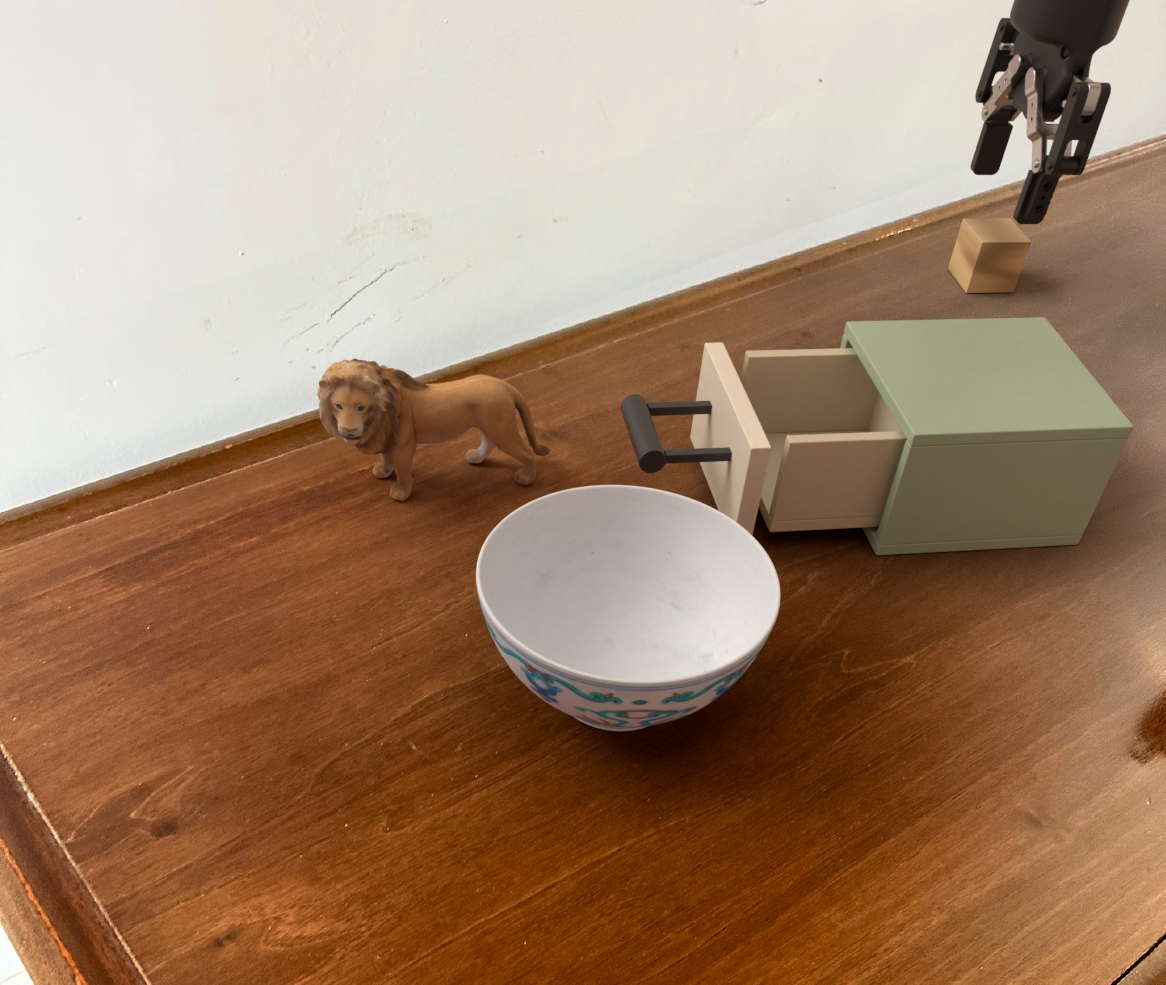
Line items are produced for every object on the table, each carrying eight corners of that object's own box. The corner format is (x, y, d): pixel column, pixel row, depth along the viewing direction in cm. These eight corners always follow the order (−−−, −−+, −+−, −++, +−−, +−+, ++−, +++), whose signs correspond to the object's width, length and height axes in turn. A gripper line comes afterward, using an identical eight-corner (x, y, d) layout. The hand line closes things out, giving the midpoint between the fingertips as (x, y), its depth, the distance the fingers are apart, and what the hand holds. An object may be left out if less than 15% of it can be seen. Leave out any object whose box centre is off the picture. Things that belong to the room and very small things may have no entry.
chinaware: (719, 826, 58) (746, 718, 53) (433, 746, 61) (429, 633, 55) (776, 633, 68) (805, 523, 62) (528, 570, 70) (533, 458, 64)
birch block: (993, 268, 100) (1010, 217, 97) (1013, 292, 98) (1031, 241, 94) (947, 268, 100) (962, 218, 96) (965, 293, 97) (982, 242, 94)
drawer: (640, 550, 71) (653, 452, 66) (606, 440, 78) (616, 344, 73) (926, 535, 74) (960, 440, 69) (868, 431, 81) (894, 337, 76)
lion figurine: (342, 528, 72) (328, 394, 65) (316, 478, 75) (300, 345, 68) (564, 479, 76) (573, 350, 70) (532, 435, 79) (537, 306, 73)
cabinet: (875, 556, 73) (914, 434, 67) (816, 439, 81) (846, 320, 75) (1078, 545, 76) (1134, 426, 69) (1001, 432, 84) (1045, 316, 77)
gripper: (994, -80, 85) (926, 158, 97) (1083, -13, 76) (996, 240, 88) (1089, -75, 86) (1011, 159, 98) (1188, -9, 77) (1088, 239, 89)
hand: (1004, 197), depth 93 cm, fingers open, 8 cm apart
